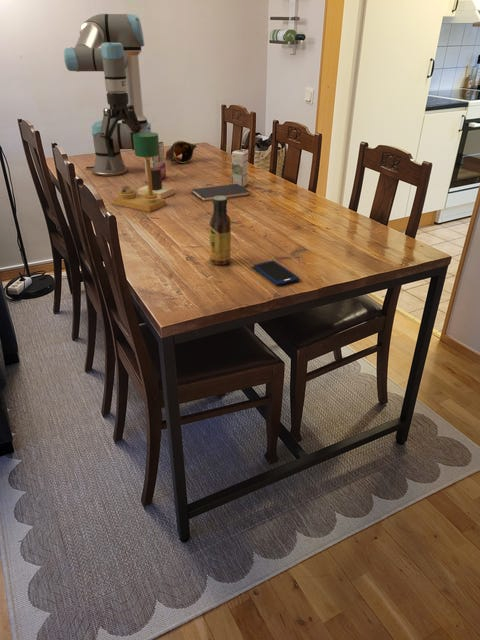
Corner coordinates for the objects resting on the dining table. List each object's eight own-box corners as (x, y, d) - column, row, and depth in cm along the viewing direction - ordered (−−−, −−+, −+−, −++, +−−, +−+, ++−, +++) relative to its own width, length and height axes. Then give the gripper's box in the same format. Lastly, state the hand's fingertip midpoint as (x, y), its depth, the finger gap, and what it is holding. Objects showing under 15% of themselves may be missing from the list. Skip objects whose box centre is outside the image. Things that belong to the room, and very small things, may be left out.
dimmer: (137, 195, 201) (136, 188, 200) (152, 189, 208) (151, 183, 207) (160, 199, 196) (159, 193, 195) (174, 193, 203) (174, 187, 202)
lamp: (134, 198, 184) (127, 135, 172) (149, 192, 191) (143, 131, 179) (152, 201, 181) (147, 137, 169) (167, 195, 187) (163, 133, 175)
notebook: (237, 187, 213) (192, 192, 205) (237, 183, 212) (192, 189, 204) (250, 195, 203) (203, 201, 195) (250, 191, 202) (203, 197, 194)
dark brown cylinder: (145, 189, 200) (144, 168, 196) (154, 185, 204) (152, 165, 200) (156, 191, 198) (154, 170, 193) (164, 187, 202) (163, 167, 197)
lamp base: (113, 203, 191) (111, 194, 189) (129, 197, 198) (128, 187, 196) (149, 211, 183) (148, 201, 181) (165, 204, 190) (165, 194, 188)
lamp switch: (120, 193, 190) (119, 188, 189) (126, 191, 193) (126, 185, 192) (127, 195, 189) (127, 189, 188) (134, 192, 192) (133, 187, 191)
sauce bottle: (209, 257, 147) (208, 193, 137) (229, 257, 148) (230, 193, 137) (210, 266, 142) (208, 200, 131) (231, 266, 142) (231, 200, 132)
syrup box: (248, 184, 217) (248, 150, 209) (242, 187, 212) (243, 153, 205) (236, 182, 219) (237, 149, 211) (231, 185, 214) (231, 152, 207)
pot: (179, 138, 259) (194, 132, 244) (189, 157, 264) (204, 153, 249) (154, 152, 253) (167, 147, 238) (164, 172, 258) (178, 168, 243)
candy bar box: (156, 176, 227) (154, 139, 218) (166, 177, 225) (163, 140, 217) (145, 182, 218) (142, 144, 209) (155, 183, 216) (152, 145, 208)
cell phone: (278, 286, 131) (278, 283, 131) (252, 267, 142) (252, 264, 141) (300, 280, 134) (300, 278, 134) (273, 262, 145) (273, 259, 144)
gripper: (100, 96, 161) (108, 161, 172) (147, 89, 180) (152, 148, 191) (83, 94, 165) (93, 158, 176) (131, 88, 183) (137, 146, 194)
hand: (123, 153), depth 183 cm, fingers open, 13 cm apart
